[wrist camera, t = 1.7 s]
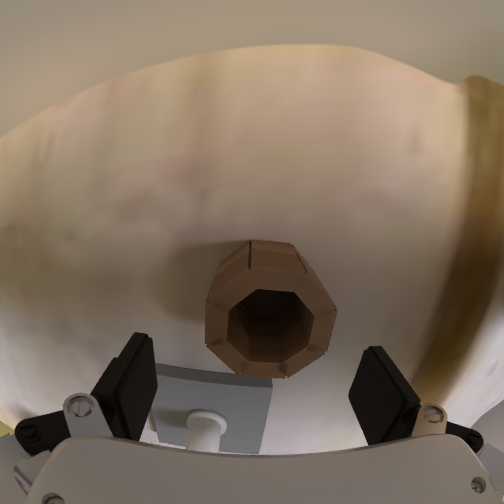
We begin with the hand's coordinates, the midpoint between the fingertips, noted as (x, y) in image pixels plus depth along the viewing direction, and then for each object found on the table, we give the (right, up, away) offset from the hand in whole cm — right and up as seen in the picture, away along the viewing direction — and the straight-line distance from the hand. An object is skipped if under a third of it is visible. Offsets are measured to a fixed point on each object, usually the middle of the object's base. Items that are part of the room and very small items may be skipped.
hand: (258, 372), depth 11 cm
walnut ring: (+1, +2, +9) cm, 10 cm away
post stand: (-5, -11, +13) cm, 17 cm away
